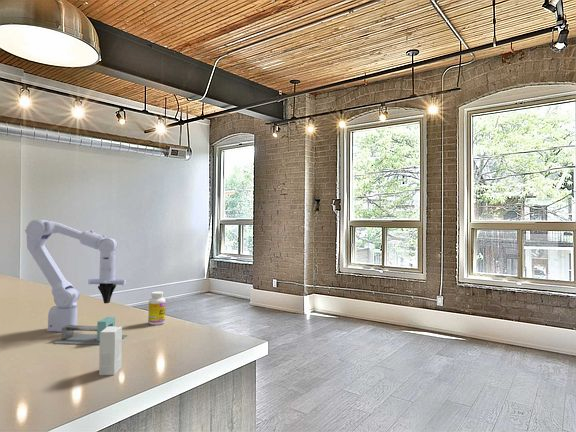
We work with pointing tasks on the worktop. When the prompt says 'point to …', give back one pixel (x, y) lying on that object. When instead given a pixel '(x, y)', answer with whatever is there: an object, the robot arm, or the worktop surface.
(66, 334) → the pipe
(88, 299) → the worktop surface
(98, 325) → the teal slotted block
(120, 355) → the skincare box
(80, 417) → the worktop surface
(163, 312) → the supplement bottle
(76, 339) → the grey rectangular plate
